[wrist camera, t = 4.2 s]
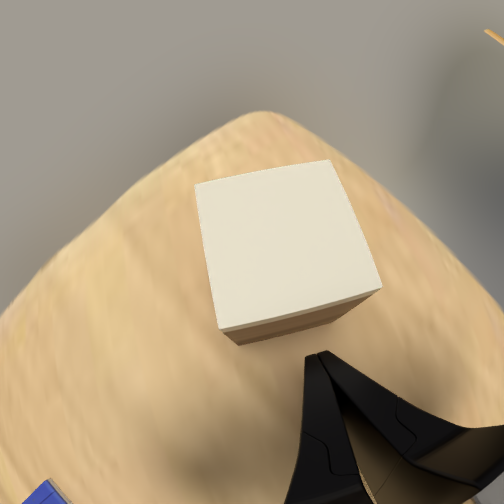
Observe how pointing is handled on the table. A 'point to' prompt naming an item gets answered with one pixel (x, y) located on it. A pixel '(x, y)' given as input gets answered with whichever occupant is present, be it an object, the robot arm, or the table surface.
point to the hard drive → (47, 494)
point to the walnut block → (282, 250)
